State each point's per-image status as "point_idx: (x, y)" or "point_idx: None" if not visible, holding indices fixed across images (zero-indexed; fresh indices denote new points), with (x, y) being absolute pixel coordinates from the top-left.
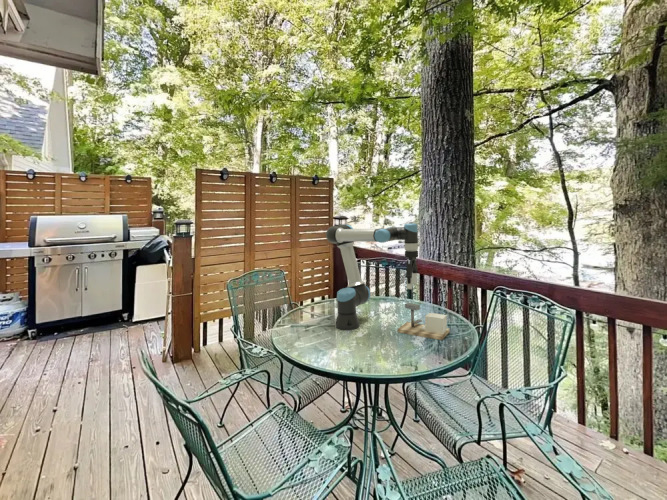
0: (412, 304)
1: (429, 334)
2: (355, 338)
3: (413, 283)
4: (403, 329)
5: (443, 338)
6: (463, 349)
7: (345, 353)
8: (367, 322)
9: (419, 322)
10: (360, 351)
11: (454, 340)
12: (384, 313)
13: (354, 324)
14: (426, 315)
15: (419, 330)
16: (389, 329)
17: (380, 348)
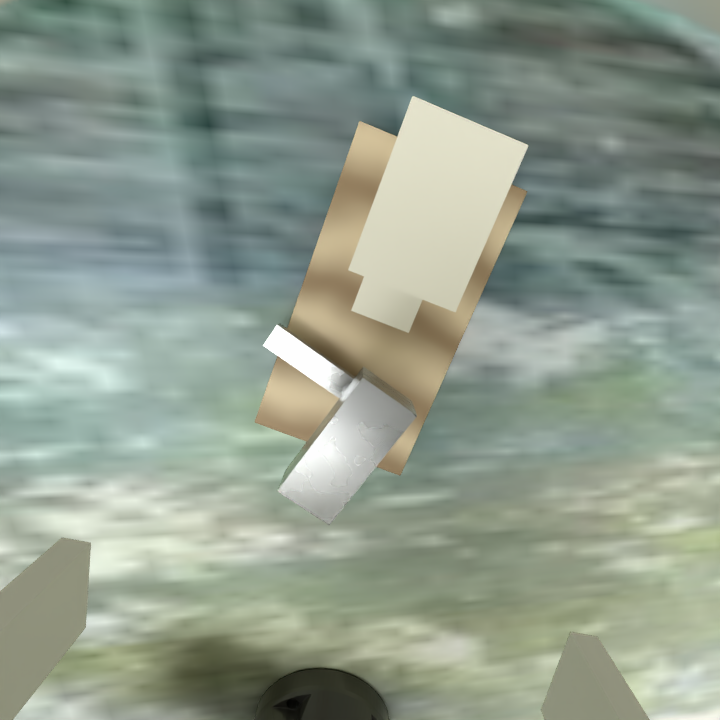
0: (343, 452)
1: (488, 276)
2: (506, 661)
3: (80, 611)
4: (407, 440)
5: None
6: (664, 64)
7: (698, 677)
8: (245, 634)
9: (306, 342)
10: (677, 620)
11: (510, 109)
12: None
13: (365, 710)
14: (435, 300)
15: (417, 340)
16: (350, 511)
17: (640, 537)
